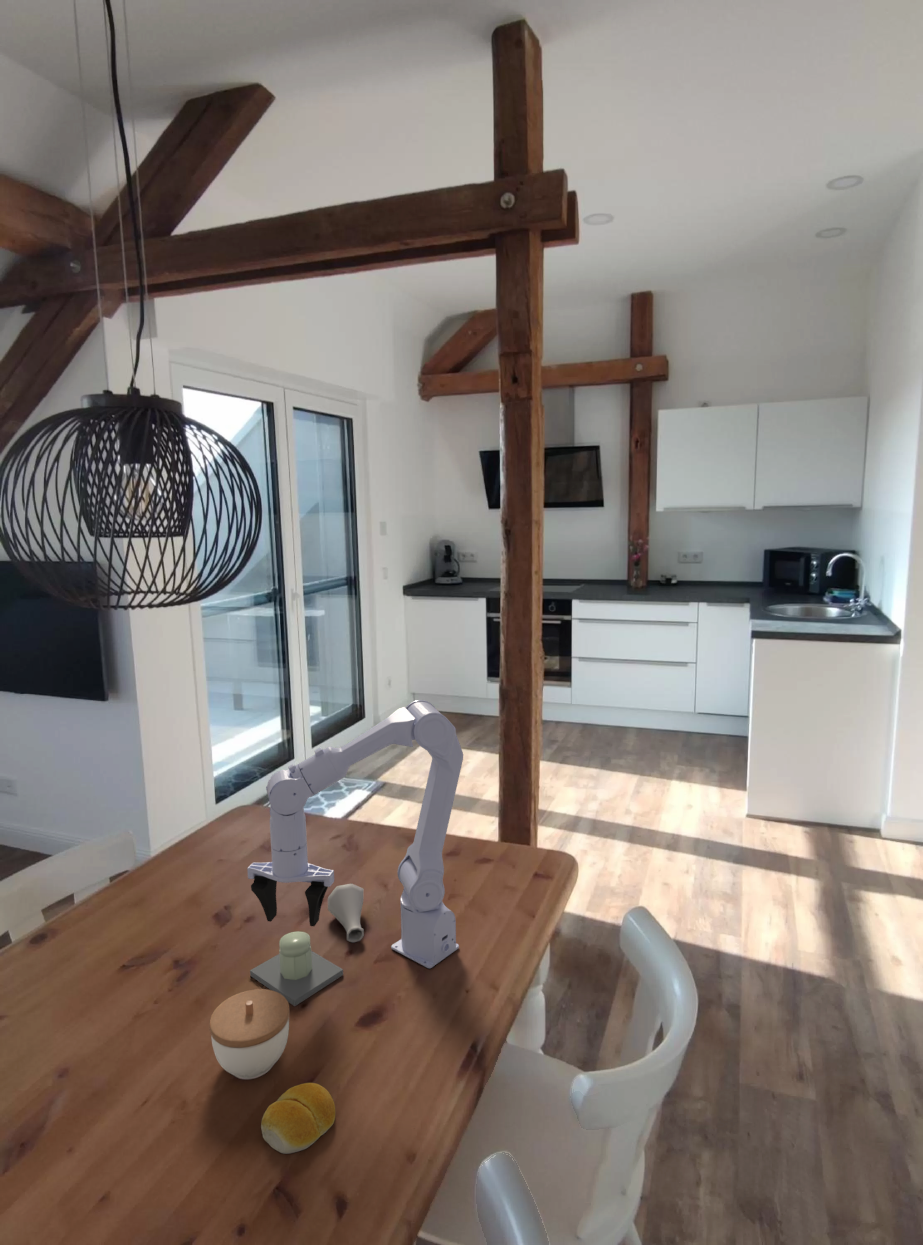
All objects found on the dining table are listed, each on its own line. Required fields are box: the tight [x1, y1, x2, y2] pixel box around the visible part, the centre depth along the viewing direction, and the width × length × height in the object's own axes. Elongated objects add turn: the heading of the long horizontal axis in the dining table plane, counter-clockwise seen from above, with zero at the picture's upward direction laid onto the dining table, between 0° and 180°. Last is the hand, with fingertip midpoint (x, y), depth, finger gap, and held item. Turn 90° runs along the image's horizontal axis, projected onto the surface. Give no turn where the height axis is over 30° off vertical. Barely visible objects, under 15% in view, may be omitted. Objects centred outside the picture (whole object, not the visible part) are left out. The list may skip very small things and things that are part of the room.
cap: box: [278, 931, 312, 980], centre depth 120 cm, size 5×5×6 cm
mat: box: [249, 950, 344, 1007], centre depth 121 cm, size 12×10×1 cm
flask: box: [327, 883, 365, 944], centre depth 134 cm, size 7×7×10 cm
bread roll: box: [260, 1082, 336, 1155], centre depth 92 cm, size 8×9×4 cm
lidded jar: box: [209, 988, 290, 1081], centre depth 101 cm, size 11×11×9 cm
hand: (293, 920), depth 120 cm, fingers open, 7 cm apart
